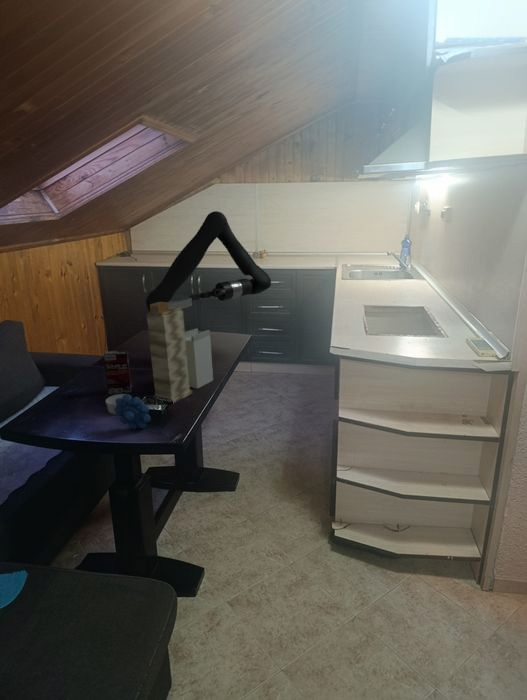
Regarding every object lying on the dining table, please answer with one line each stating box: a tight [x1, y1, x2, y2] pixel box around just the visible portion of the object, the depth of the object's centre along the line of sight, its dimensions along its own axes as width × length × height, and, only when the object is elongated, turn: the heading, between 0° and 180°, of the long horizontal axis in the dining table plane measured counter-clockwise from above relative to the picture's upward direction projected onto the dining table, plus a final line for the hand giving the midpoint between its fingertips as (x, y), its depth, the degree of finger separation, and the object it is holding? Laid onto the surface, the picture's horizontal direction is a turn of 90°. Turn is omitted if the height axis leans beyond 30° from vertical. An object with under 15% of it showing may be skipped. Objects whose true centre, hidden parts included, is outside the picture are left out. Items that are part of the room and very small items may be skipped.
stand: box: [146, 308, 193, 404], centre depth 171 cm, size 11×10×33 cm
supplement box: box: [103, 349, 133, 395], centre depth 180 cm, size 9×5×16 cm, turn 101°
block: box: [150, 296, 193, 316], centre depth 169 cm, size 18×4×4 cm, turn 148°
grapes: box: [114, 393, 152, 430], centre depth 148 cm, size 12×7×12 cm, turn 83°
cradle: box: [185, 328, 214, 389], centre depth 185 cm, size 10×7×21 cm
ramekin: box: [105, 393, 132, 415], centre depth 165 cm, size 9×9×4 cm
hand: (195, 297), depth 186 cm, fingers open, 8 cm apart
